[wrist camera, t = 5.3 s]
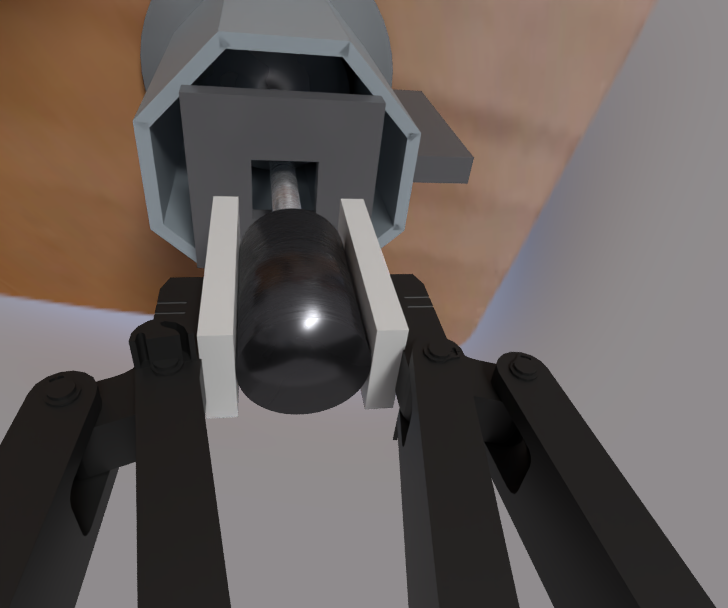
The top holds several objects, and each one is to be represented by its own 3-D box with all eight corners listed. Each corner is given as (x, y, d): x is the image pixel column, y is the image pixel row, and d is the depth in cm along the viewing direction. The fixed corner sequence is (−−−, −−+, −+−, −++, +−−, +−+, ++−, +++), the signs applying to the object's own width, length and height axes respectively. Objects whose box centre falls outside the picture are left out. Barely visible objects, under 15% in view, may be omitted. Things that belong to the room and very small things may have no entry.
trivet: (160, 184, 34) (158, 189, 33) (122, -88, 25) (118, -87, 25) (375, 188, 36) (377, 194, 36) (406, -55, 28) (410, -54, 27)
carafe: (187, 161, 32) (158, 302, 22) (167, -35, 26) (111, 29, 16) (397, 168, 35) (461, 296, 24) (424, -10, 29) (526, 59, 18)
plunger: (202, 162, 30) (150, 482, 14) (188, 2, 25) (86, 220, 9) (341, 166, 32) (434, 458, 16) (354, 16, 27) (506, 224, 11)
